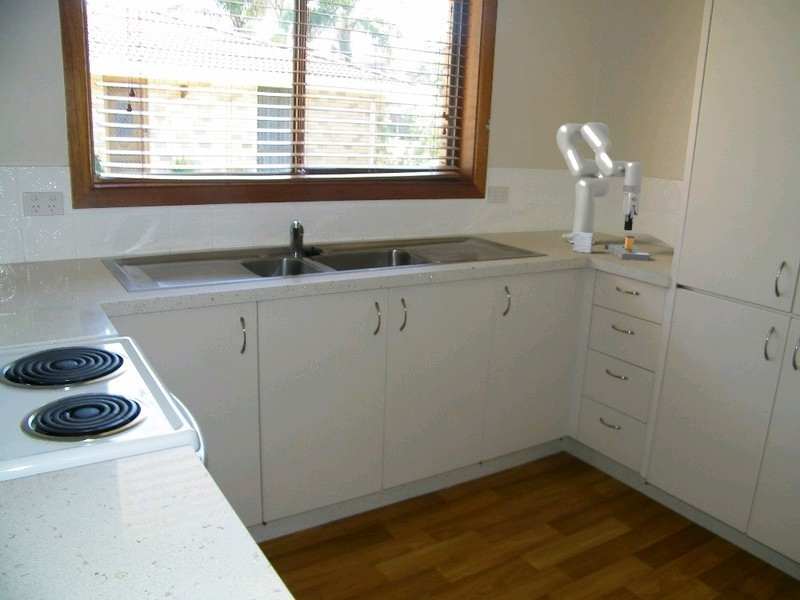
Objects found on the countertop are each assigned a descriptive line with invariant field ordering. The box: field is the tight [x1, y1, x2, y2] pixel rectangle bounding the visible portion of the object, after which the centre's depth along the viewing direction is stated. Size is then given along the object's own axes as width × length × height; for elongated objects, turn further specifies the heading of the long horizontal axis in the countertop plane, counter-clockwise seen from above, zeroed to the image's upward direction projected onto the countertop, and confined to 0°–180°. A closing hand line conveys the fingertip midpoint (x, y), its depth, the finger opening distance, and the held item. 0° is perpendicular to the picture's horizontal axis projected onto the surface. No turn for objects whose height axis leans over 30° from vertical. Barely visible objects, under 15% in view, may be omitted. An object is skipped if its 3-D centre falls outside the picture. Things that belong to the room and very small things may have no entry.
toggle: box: [624, 235, 635, 252], centre depth 317 cm, size 3×2×8 cm
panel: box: [607, 244, 651, 261], centre depth 318 cm, size 12×24×3 cm, turn 178°
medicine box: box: [572, 232, 595, 254], centre depth 319 cm, size 8×4×9 cm, turn 65°
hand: (627, 230), depth 321 cm, fingers closed
